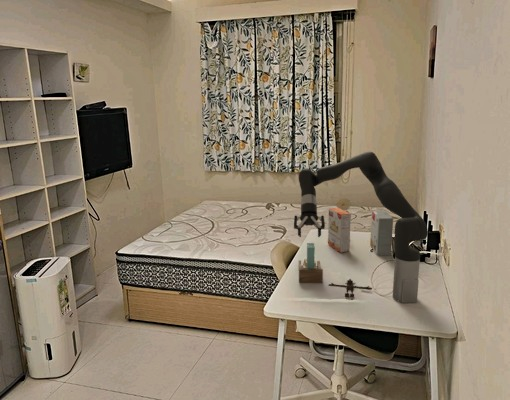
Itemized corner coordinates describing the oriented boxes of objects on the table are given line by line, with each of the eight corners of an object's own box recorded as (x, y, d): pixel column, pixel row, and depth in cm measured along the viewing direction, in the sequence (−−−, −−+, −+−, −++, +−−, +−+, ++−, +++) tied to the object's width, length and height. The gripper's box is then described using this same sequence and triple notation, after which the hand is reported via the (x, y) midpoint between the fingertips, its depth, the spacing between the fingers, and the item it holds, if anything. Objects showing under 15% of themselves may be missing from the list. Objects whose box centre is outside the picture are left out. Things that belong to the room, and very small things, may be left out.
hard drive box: (369, 245, 234) (371, 210, 229) (383, 245, 233) (385, 210, 229) (376, 255, 218) (378, 218, 214) (391, 255, 218) (394, 218, 214)
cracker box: (327, 244, 236) (328, 207, 231) (337, 243, 237) (338, 207, 233) (339, 253, 223) (340, 214, 218) (349, 251, 224) (351, 213, 220)
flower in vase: (324, 238, 245) (325, 196, 240) (337, 234, 252) (338, 193, 247) (342, 244, 235) (344, 200, 230) (355, 240, 243) (357, 197, 237)
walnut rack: (322, 285, 184) (322, 270, 182) (299, 284, 185) (299, 269, 183) (319, 267, 203) (320, 253, 202) (298, 267, 204) (298, 253, 203)
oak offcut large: (316, 273, 195) (316, 268, 194) (303, 272, 195) (303, 267, 194) (315, 267, 201) (315, 262, 201) (302, 267, 202) (303, 262, 201)
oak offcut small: (315, 266, 195) (315, 262, 195) (305, 267, 195) (305, 262, 195) (313, 262, 200) (313, 258, 200) (304, 262, 200) (304, 258, 200)
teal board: (313, 280, 187) (314, 247, 184) (307, 280, 187) (307, 247, 184) (313, 274, 193) (313, 243, 189) (306, 274, 193) (307, 243, 190)
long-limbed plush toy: (326, 291, 172) (329, 274, 185) (326, 301, 173) (329, 283, 187) (373, 295, 168) (372, 277, 181) (372, 305, 169) (371, 286, 183)
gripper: (323, 210, 207) (324, 240, 198) (293, 210, 208) (293, 239, 200) (324, 201, 200) (325, 232, 192) (293, 202, 202) (293, 232, 193)
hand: (309, 236), depth 196 cm, fingers open, 8 cm apart
